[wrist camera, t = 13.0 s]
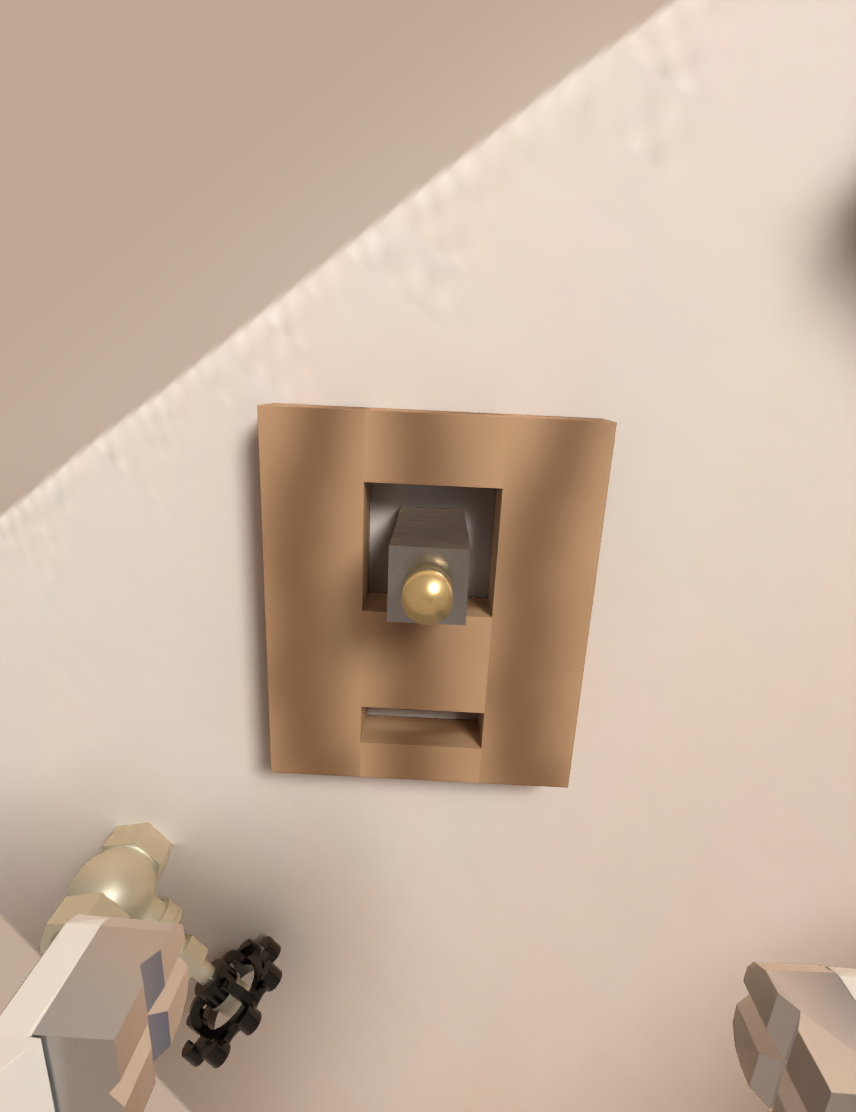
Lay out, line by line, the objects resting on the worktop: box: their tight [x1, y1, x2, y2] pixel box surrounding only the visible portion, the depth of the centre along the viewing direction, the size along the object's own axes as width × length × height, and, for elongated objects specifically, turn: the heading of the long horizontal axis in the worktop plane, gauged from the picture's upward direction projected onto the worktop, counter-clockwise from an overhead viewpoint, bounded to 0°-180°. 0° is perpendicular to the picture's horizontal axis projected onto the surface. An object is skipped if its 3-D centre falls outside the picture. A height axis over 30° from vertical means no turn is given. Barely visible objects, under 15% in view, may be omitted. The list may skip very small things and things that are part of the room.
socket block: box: [257, 403, 617, 787], centre depth 28 cm, size 15×18×2 cm
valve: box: [39, 823, 282, 1068], centre depth 32 cm, size 7×7×12 cm
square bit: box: [387, 506, 471, 625], centre depth 25 cm, size 3×3×8 cm
